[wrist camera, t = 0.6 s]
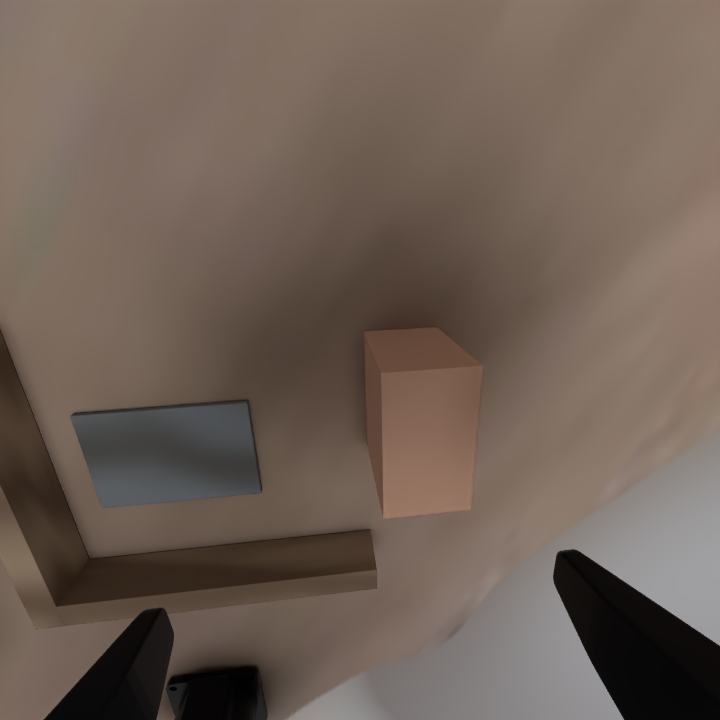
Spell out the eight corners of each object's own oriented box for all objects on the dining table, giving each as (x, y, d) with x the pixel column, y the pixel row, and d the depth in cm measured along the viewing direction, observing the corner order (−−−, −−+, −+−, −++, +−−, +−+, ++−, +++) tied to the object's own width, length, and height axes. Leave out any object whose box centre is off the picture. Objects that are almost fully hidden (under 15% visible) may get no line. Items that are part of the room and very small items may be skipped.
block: (432, 438, 22) (470, 509, 17) (367, 444, 22) (383, 518, 16) (436, 326, 20) (483, 365, 14) (363, 330, 19) (381, 373, 14)
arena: (370, 547, 24) (377, 588, 22) (70, 579, 23) (35, 629, 20) (362, 303, 19) (370, 316, 16) (-37, 325, 17) (-107, 344, 14)
